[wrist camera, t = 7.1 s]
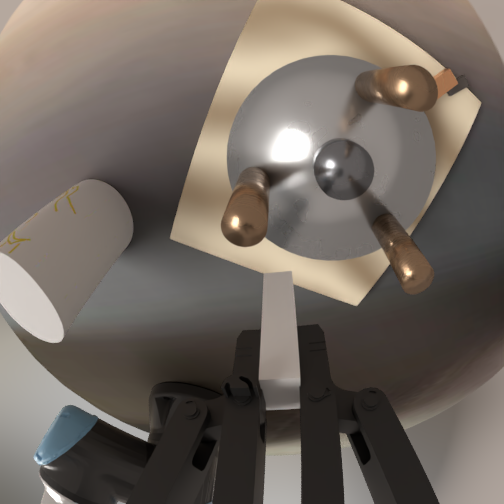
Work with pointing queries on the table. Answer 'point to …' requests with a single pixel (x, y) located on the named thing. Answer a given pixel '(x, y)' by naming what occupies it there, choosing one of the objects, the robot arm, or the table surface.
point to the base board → (249, 76)
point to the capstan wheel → (336, 162)
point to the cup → (62, 257)
